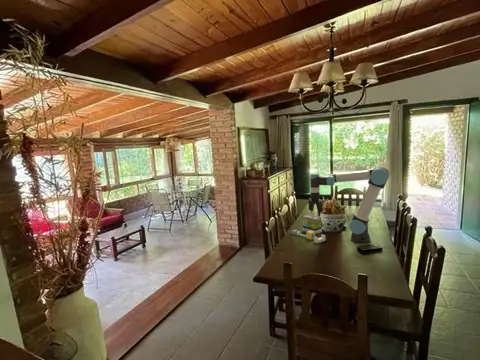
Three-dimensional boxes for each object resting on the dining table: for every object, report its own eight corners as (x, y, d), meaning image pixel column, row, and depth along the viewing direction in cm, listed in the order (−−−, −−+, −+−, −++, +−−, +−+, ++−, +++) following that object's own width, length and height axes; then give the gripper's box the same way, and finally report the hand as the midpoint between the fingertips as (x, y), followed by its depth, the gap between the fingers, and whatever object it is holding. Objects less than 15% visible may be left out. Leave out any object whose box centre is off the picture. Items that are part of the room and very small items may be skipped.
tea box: (302, 231, 270) (302, 216, 268) (309, 228, 276) (308, 214, 274) (315, 234, 258) (315, 218, 257) (322, 232, 264) (321, 216, 263)
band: (300, 234, 260) (300, 231, 260) (298, 235, 258) (297, 232, 258) (299, 234, 261) (299, 231, 261) (297, 235, 259) (296, 232, 259)
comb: (325, 240, 242) (325, 235, 241) (317, 243, 236) (317, 238, 235) (322, 239, 245) (322, 234, 244) (314, 242, 239) (314, 237, 238)
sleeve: (315, 238, 248) (314, 231, 247) (311, 239, 245) (310, 232, 244) (310, 236, 252) (310, 230, 251) (306, 238, 249) (306, 231, 248)
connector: (298, 233, 263) (298, 230, 263) (295, 234, 261) (295, 231, 260) (295, 232, 266) (295, 229, 266) (291, 233, 264) (291, 230, 263)
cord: (322, 241, 239) (322, 239, 239) (321, 242, 238) (321, 240, 238) (294, 233, 265) (294, 231, 265) (293, 233, 264) (293, 232, 264)
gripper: (326, 192, 233) (327, 220, 236) (309, 190, 248) (310, 216, 251) (320, 193, 229) (321, 221, 232) (303, 191, 244) (304, 217, 247)
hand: (315, 218), depth 241 cm, fingers open, 5 cm apart
